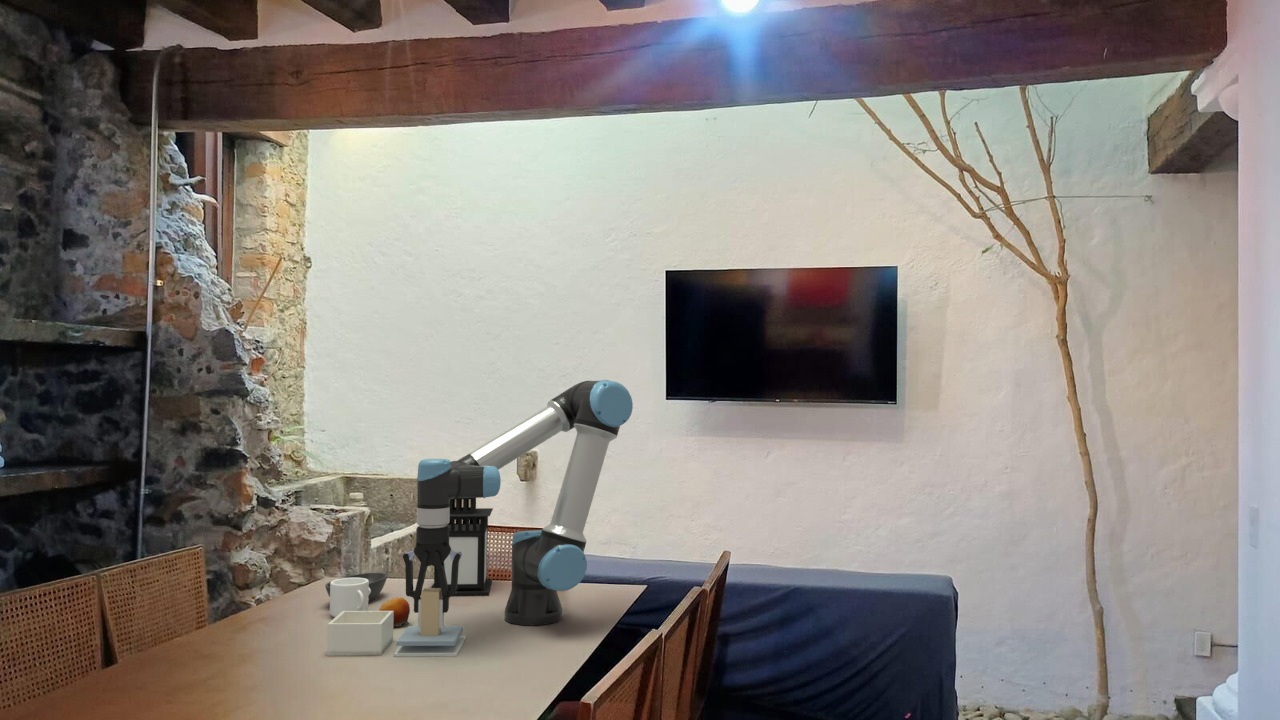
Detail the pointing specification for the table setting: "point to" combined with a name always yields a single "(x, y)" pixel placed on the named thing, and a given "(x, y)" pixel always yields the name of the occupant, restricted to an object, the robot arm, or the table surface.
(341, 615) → the white open storage bin
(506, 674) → the table surface
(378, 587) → the bowl
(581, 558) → the robot arm
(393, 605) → the fruit
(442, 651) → the mat
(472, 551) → the lantern
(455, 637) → the lid
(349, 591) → the mug
